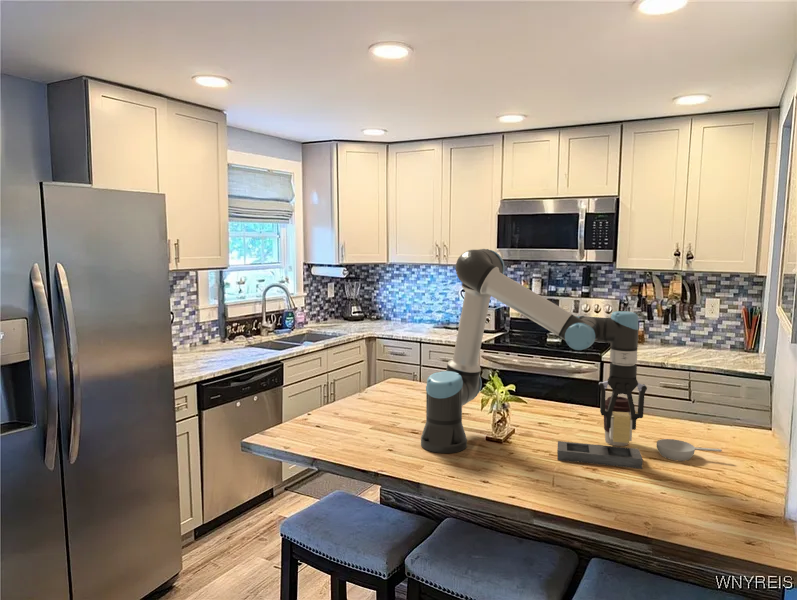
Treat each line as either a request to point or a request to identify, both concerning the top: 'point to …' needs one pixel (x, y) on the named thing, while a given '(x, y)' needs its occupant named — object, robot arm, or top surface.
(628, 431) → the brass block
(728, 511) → the top surface
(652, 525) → the top surface
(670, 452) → the small pan
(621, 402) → the coffee cup
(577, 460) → the gray slotted rack
